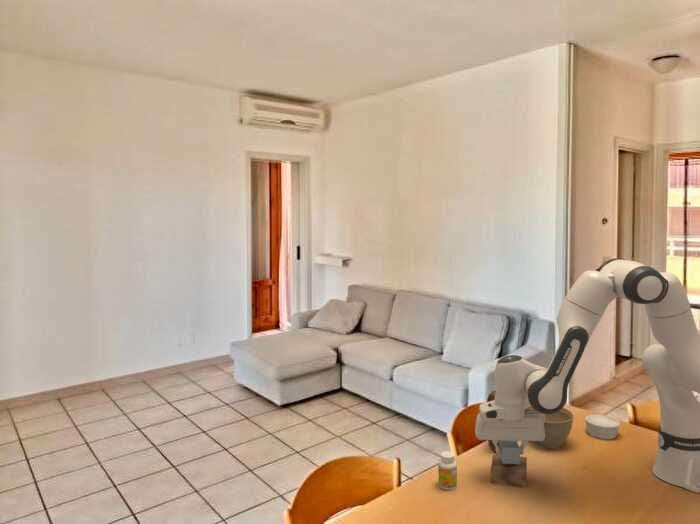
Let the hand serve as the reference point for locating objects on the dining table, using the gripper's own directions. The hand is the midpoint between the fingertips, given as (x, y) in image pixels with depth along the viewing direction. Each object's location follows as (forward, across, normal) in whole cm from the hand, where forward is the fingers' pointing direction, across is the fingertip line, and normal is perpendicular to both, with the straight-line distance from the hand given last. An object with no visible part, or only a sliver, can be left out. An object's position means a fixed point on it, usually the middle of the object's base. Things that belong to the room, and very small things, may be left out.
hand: (509, 453), depth 156 cm
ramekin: (+8, -39, -33) cm, 52 cm away
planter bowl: (+8, -18, -25) cm, 32 cm away
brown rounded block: (+8, -1, -19) cm, 21 cm away
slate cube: (+2, 0, 0) cm, 2 cm away
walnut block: (+8, 0, 0) cm, 8 cm away
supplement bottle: (+8, +19, +6) cm, 22 cm away
